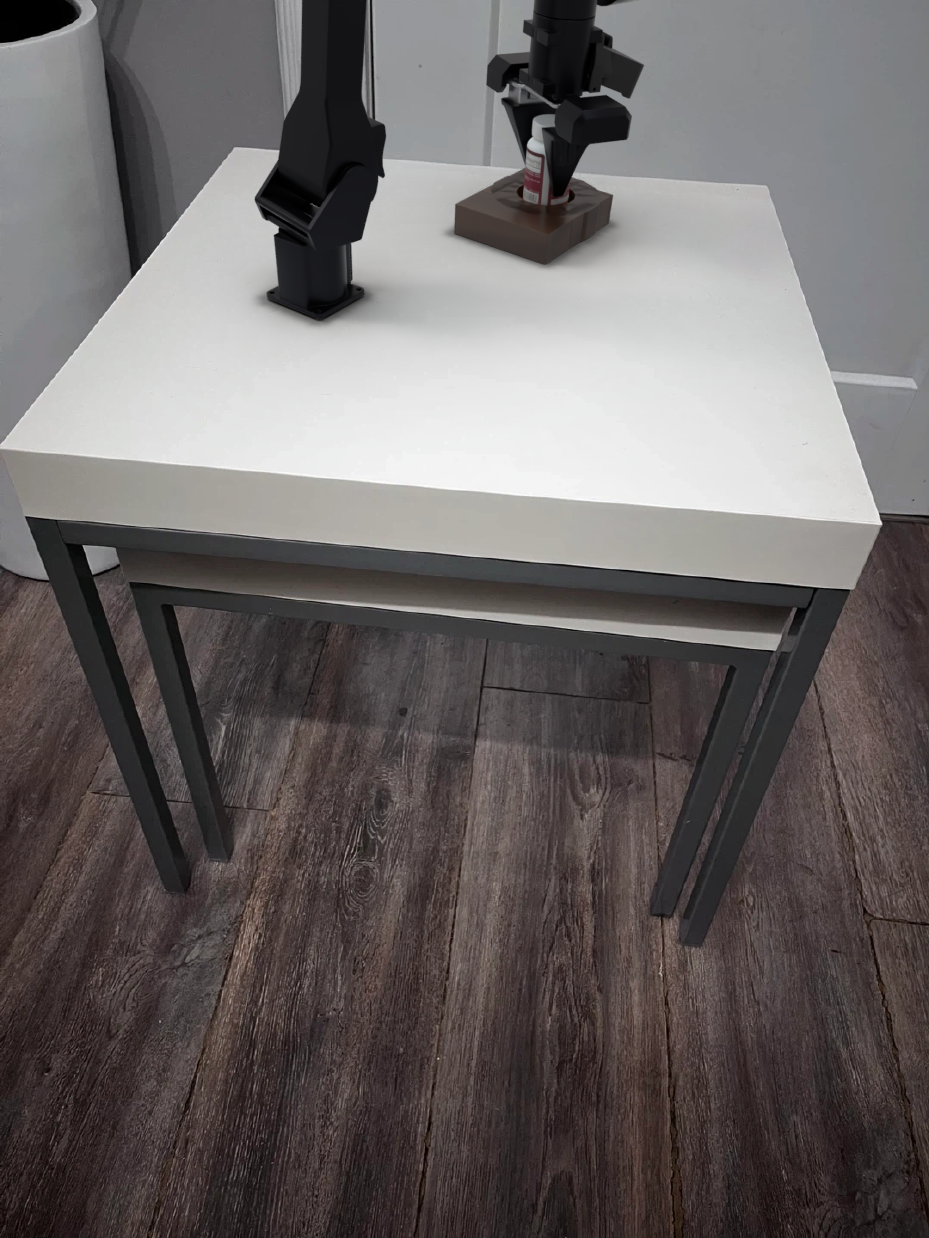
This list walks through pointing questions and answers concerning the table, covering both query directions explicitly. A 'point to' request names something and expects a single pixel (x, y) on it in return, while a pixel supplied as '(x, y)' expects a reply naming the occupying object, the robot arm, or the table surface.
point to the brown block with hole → (531, 218)
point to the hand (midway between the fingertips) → (545, 187)
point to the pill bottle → (540, 167)
